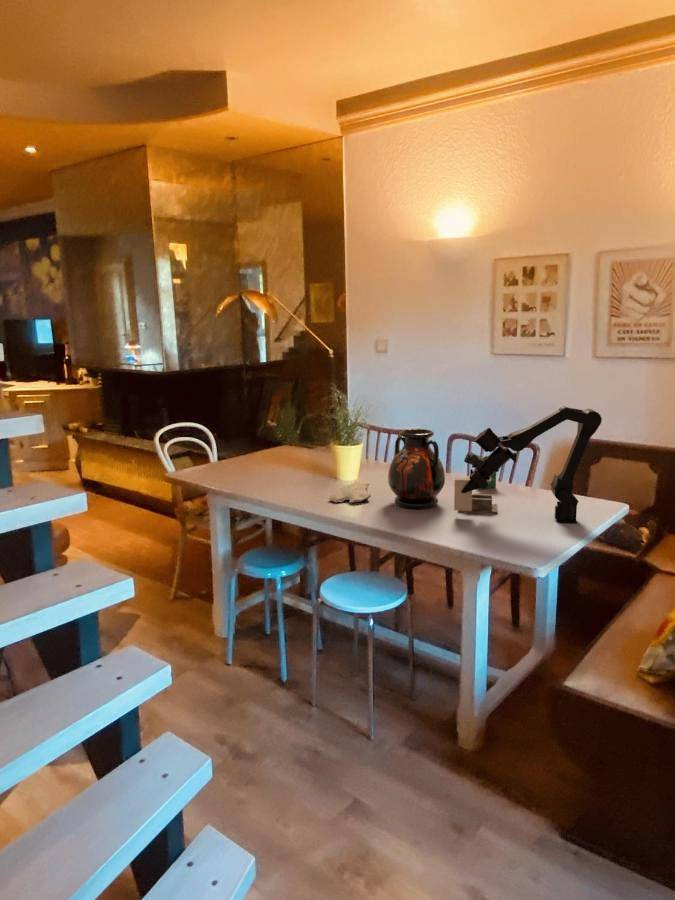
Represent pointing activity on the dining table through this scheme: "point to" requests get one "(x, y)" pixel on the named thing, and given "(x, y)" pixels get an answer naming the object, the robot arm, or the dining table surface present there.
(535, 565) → the dining table surface
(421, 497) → the amphora vase
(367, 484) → the rock
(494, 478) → the coffee box
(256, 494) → the dining table surface
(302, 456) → the dining table surface
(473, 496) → the slot rack
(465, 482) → the tan rectangular block
